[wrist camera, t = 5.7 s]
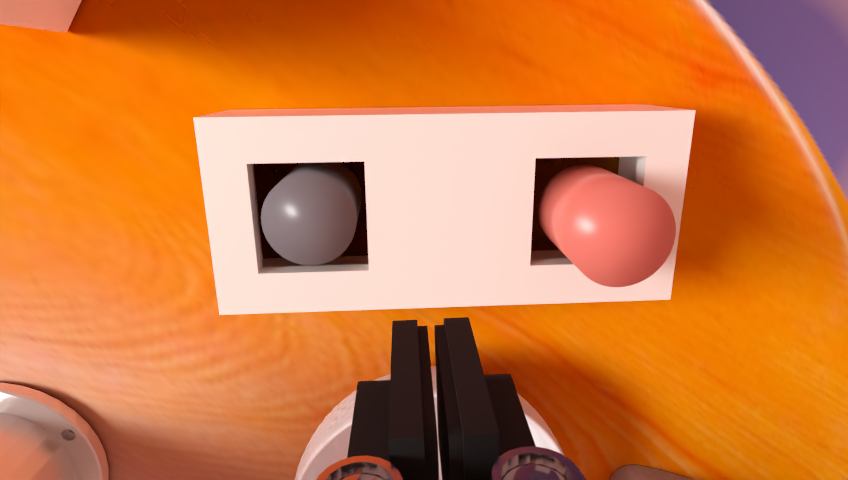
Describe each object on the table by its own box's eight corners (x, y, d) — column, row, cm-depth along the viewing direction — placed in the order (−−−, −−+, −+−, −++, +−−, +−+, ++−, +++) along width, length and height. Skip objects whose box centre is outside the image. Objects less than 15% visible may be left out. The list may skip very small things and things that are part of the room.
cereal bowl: (416, 571, 42) (421, 668, 35) (254, 441, 37) (224, 522, 31) (590, 440, 39) (631, 517, 32) (437, 284, 35) (449, 335, 28)
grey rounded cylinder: (363, 233, 32) (358, 264, 27) (285, 235, 32) (265, 266, 27) (360, 156, 31) (353, 173, 26) (279, 158, 31) (256, 175, 26)
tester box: (624, 262, 35) (670, 299, 29) (248, 274, 34) (219, 314, 28) (641, 104, 32) (695, 110, 26) (229, 109, 31) (193, 117, 25)
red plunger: (618, 247, 29) (668, 285, 24) (535, 250, 29) (567, 289, 24) (627, 163, 28) (682, 183, 23) (539, 164, 28) (574, 186, 22)
